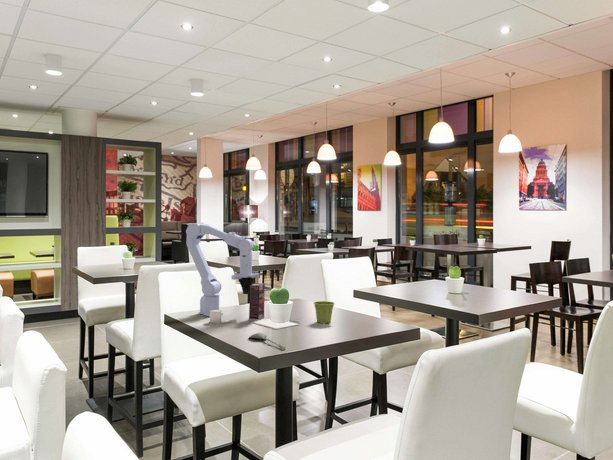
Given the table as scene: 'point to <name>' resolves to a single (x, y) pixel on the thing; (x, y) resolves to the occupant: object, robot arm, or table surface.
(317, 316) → the plant pot
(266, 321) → the mat
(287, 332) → the table surface
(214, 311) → the white small cube
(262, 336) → the soupspoon
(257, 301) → the supplement box
